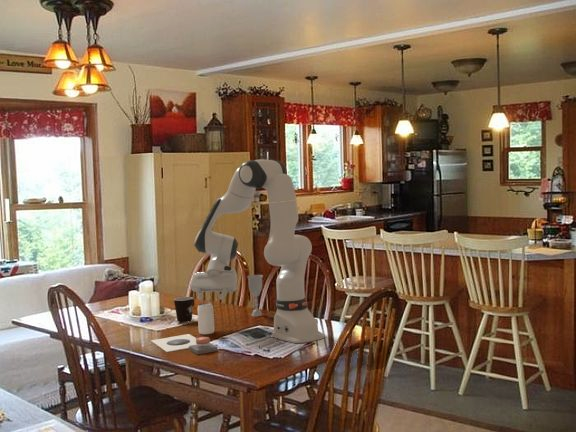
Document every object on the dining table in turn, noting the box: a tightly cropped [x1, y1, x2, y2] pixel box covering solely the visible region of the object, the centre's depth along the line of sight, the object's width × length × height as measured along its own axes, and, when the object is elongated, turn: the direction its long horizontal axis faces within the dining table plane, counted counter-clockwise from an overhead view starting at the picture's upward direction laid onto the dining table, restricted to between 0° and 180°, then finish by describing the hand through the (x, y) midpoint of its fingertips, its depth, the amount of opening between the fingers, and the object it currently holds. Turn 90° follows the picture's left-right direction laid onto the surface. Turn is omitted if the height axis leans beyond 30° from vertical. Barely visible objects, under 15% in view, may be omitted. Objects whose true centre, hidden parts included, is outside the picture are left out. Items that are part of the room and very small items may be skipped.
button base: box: [188, 341, 218, 356], centre depth 234 cm, size 8×8×2 cm
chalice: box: [246, 274, 264, 317], centre depth 289 cm, size 7×7×18 cm
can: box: [197, 302, 215, 336], centre depth 260 cm, size 6×6×12 cm
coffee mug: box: [173, 296, 195, 323], centre depth 286 cm, size 12×9×10 cm
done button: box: [195, 336, 211, 344], centre depth 234 cm, size 5×5×2 cm
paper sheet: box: [150, 333, 197, 353], centre depth 246 cm, size 20×16×1 cm
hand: (210, 298), depth 266 cm, fingers open, 8 cm apart
